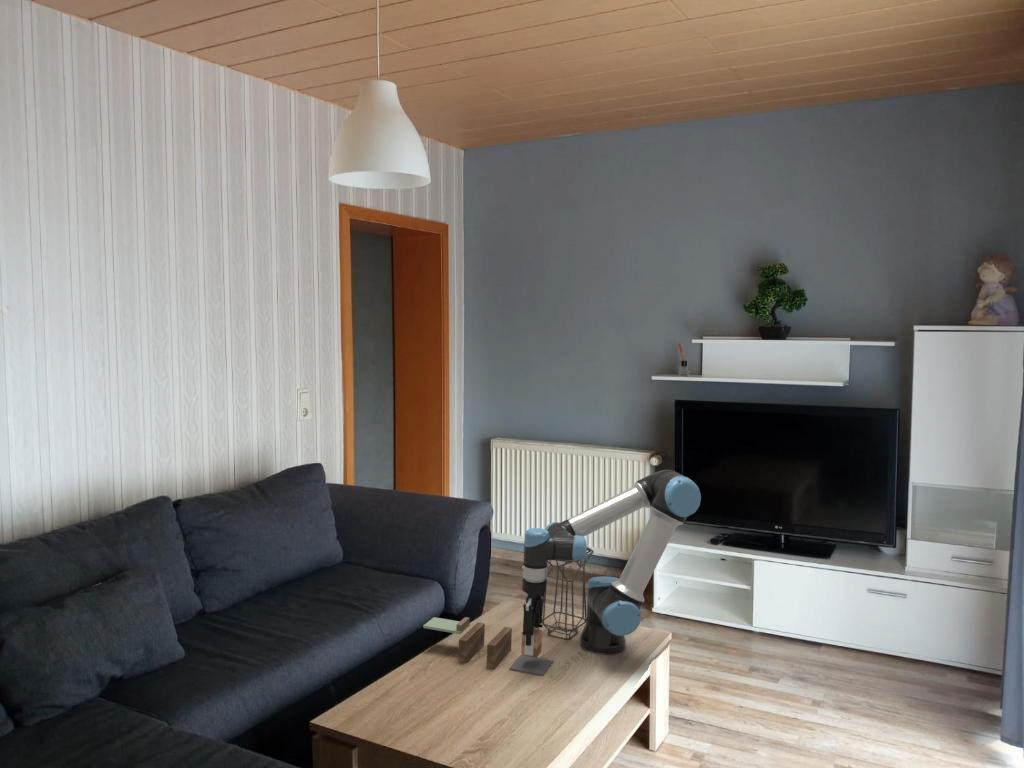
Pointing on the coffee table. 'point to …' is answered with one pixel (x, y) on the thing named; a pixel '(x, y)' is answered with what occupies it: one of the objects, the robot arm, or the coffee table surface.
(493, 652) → the brown parallel walls
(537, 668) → the mat
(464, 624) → the cover
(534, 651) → the block
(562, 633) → the geometric lantern
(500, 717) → the coffee table surface
